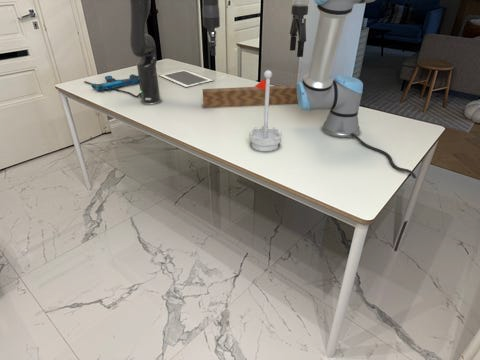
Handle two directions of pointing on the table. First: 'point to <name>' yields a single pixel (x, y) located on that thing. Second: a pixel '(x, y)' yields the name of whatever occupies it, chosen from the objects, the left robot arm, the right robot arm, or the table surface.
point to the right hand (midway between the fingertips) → (296, 53)
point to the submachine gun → (115, 82)
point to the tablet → (185, 78)
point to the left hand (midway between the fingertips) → (212, 53)
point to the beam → (249, 96)
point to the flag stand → (265, 123)
